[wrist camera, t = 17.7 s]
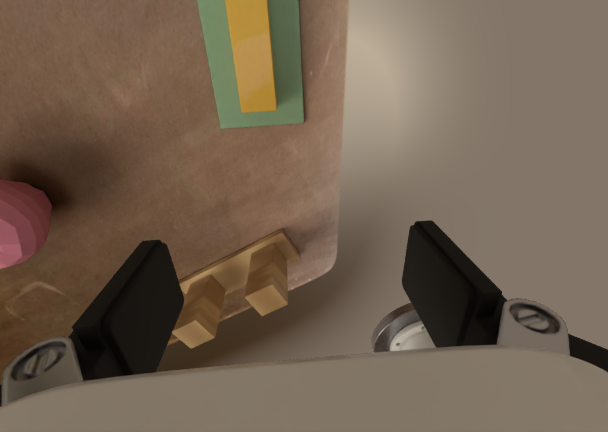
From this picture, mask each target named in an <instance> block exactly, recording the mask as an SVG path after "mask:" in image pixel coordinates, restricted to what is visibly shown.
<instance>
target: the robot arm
mask: <svg viewBox="0 0 608 432" xmlns="http://www.w3.org/2000/svg"><path fill="white" fill-rule="evenodd" d="M402 285H403V288H404V290H405V292H406V294H407V295H408V297H409V299H410V301H411V303H412V305H413V307H414V308H415V310H416V312H417V314H418V316H419V318H420V319H421V321H418V322H415V323H412V324H410V325H408V326H406V327H405V328H403V329H402V330H401V331H399V332H398V333H397V334H396V335H395V337H394V338H393V340H392V341H391V344H390V351H387V352H375V353H364V354H351V355H339V356H329V357H317V358H305V359H295V360H294V359H293V360H283V361H271V362H261V363H249V364H238V365H227V366H217V367H206V368H195V369H185V370H174V371H164V372H156V370H157V367H158V365H159V363H160V360H161V358H162V356H163V353H164V351H165V348H166V346H167V344H168V341H169V339H170V336H171V334H172V332H173V329H174V327H175V325H176V322H177V320H178V317H179V315H180V313H181V310H182V308H183V305H184V297H183V293H182V290H181V287H180V284H179V281H178V278H177V275H176V272H175V269H174V265H173V262H172V259H171V256H170V253H169V250H168V247H167V245H166V244H165V243H162V242H161V241H160V240H150V241H142V242H141V243H140V244H139V245H138V247H137V248H136V249H135V250H134V252H133V253H132V254H131V255H130V257H129V258H128V259H127V260H126V261H125V263H124V264H123V265H122V266H121V268H120V269H119V270H118V271H117V272H116V274H115V275H114V276H113V277H112V279H111V280H110V281H109V282H108V283H107V285H106V286H105V287H104V288H103V290H102V291H101V292H100V293H99V295H98V296H97V297H96V298H95V299H94V301H93V302H92V303H91V304H90V306H89V307H88V308H87V309H86V310H85V312H84V313H83V314H82V315H81V317H80V318H79V319H78V320H77V321H76V323H75V324H74V325H73V326H72V329H73V330H74V331H73V332H72V334H71V335H70V336H69V337H65V336H57V337H52V338H48V339H45V340H43V341H40V342H38V343H36V344H34V345H32V346H31V347H29V348H27V349H26V350H24V351H23V352H22V353H20V354H19V355H18V356H16V357H15V358H14V359H13V360H12V361H11V362H10V363H9V365H8V366H7V367H6V369H5V370H4V372H3V376H2V385H0V432H608V350H607V349H605V348H602V347H600V346H597V345H595V344H592V343H590V342H587V341H585V340H582V339H580V338H577V337H575V336H572V335H570V334H568V329H567V326H566V323H565V322H564V320H563V319H562V318H561V317H560V316H559V315H558V314H557V313H555V312H554V311H553V310H551V309H550V308H548V307H546V306H544V305H542V304H540V303H537V302H535V301H531V300H527V299H519V298H516V299H510V300H508V301H507V300H506V299H505V298H504V297H503V296H502V291H501V290H500V289H499V288H498V287H497V286H496V285H495V284H494V283H493V282H492V281H491V280H490V279H489V278H488V277H487V276H486V275H485V274H484V273H483V272H482V271H481V270H480V269H479V268H478V267H477V266H476V265H475V264H474V263H473V262H472V261H471V260H470V259H469V258H468V257H467V256H466V255H465V254H464V253H463V252H462V251H461V250H460V248H458V247H457V245H455V243H454V242H453V241H452V240H451V239H450V238H449V237H448V236H447V235H446V234H445V233H444V232H443V231H442V230H441V229H440V228H439V227H438V226H437V225H436V224H435V223H434V222H433V221H417V222H415V224H414V225H413V226H411V227H410V230H409V237H408V244H407V250H406V257H405V263H404V270H403V277H402Z"/></svg>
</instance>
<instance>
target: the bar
mask: <svg viewBox="0 0 608 432" xmlns="http://www.w3.org/2000/svg"><path fill="white" fill-rule="evenodd" d="M225 3H226V10H227V17H228V24H229V31H230V37H231V44H232V51H233V58H234V65H235V71H236V78H237V85H238V92H239V99H240V106H241V112H242V113H250V112H266V111H277V98H276V87H275V75H274V64H273V53H272V41H271V30H270V18H269V7H268V0H225Z"/></svg>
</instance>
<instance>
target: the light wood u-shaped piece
mask: <svg viewBox="0 0 608 432" xmlns="http://www.w3.org/2000/svg"><path fill="white" fill-rule="evenodd" d="M299 259H300V254H299V252H298V251H297V249H296V248H295V247H294V245H293V244H292V242H291V241H290V239H289V238H288V236H287V235H286V233H285V232H284V231H283V229H280V230H278V231H276V232H274V233H272V234H270V235H268V236H266V237H264V238H262V239H260V240H258V241H256V242H255V243H253V244H251V245H249V246H247V247H245V248H243V249H241V250H239V251H237V252H235V253H233V254H231V255H229V256H227V257H225V258H223V259H221V260H219V261H217V262H215V263H213V264H211V265H209V266H207V267H205V268H203V269H202V270H200V271H198V272H196V273H194V274H192V275H190V276H188V277H186V278H184V279H182V280H180V281H179V284H180V287H181V290H182V291H183V292H184V293H185V294H186V296H185V299H184V305H183V308H182V310H181V313H180V315H179V317H178V320H177V322H176V325H175V327H174V329H173V332H172V333H173V334H174V335H175V336H177V337H178V338H179V339H180V340H181V341H183V342H184V343H185V344H186V345H187V346H189V347H190V348H193V347H195V346H198V345H200V344H202V343H204V342H206V341H209V340H211V339H213V338H214V337H215V335H216V330H217V326H218V322H219V318H220V313H221V309H222V305H223V300H224V296H225V295H226V294H228V293H230V292H232V291H235V290H237V289H239V288H241V287H243V286H245V285H247V286H246V293H245V298H246V299H247V300H248V301H249V302H250V303H251V305H252V306H253V307H254V308H255V309H256V310H257V311H258V312H259V313H260V314H261V315H262V316H263V315H265V314H267V313H270V312H272V311H274V310H276V309H279V308H281V307H283V306H285V305H287V304H288V285H287V265H288V264H290V263H293V262H295V261H297V260H299Z"/></svg>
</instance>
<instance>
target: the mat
mask: <svg viewBox="0 0 608 432" xmlns="http://www.w3.org/2000/svg"><path fill="white" fill-rule="evenodd" d="M197 3H198V8H199V13H200V19H201V24H202V30H203V35H204V40H205V46H206V51H207V56H208V62H209V67H210V73H211V78H212V83H213V89H214V94H215V100H216V105H217V110H218V116H219V121H220V127H221V129H223V128H238V127H253V126H269V125H284V124H299V123H304V110H303V88H302V67H301V45H300V24H299V2H298V0H268V7H269V18H270V30H271V41H272V53H273V64H274V75H275V87H276V98H277V111H266V112H250V113H242V112H241V106H240V99H239V92H238V85H237V78H236V71H235V65H234V58H233V51H232V44H231V37H230V31H229V24H228V17H227V10H226V3H225V0H197Z"/></svg>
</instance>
